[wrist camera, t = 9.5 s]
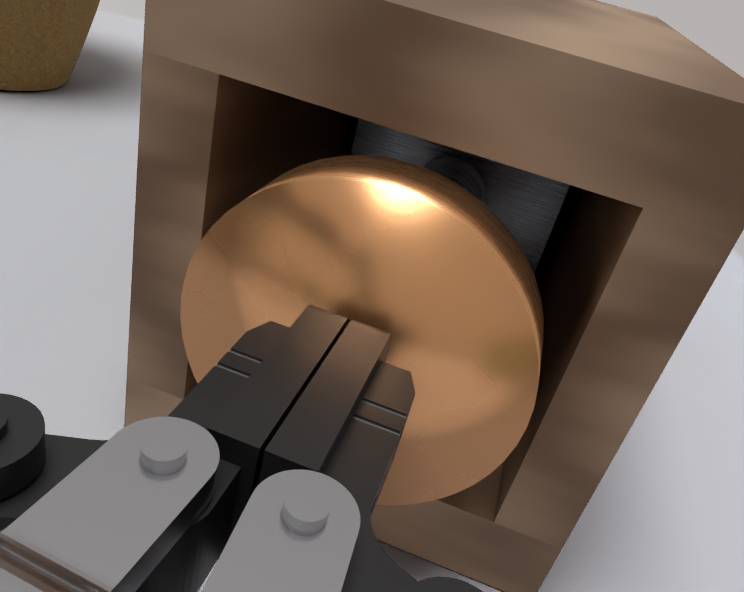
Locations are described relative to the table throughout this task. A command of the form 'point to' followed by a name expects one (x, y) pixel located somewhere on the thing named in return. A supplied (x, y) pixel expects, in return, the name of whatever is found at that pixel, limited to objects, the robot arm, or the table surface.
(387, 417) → the robot arm
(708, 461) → the table surface
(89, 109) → the table surface
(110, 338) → the table surface
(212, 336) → the plunger
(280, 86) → the box
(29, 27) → the plant pot
